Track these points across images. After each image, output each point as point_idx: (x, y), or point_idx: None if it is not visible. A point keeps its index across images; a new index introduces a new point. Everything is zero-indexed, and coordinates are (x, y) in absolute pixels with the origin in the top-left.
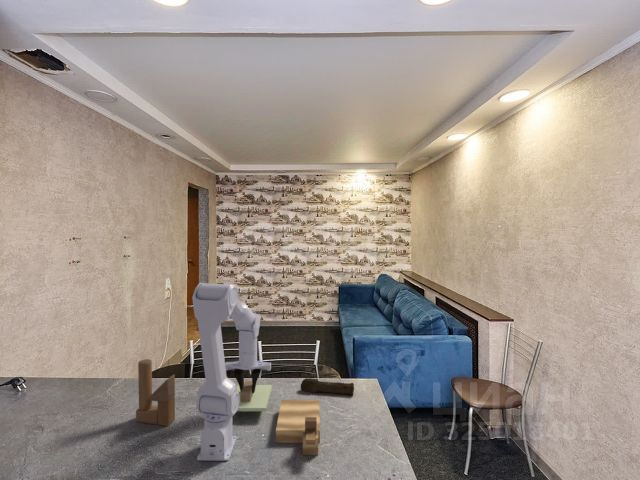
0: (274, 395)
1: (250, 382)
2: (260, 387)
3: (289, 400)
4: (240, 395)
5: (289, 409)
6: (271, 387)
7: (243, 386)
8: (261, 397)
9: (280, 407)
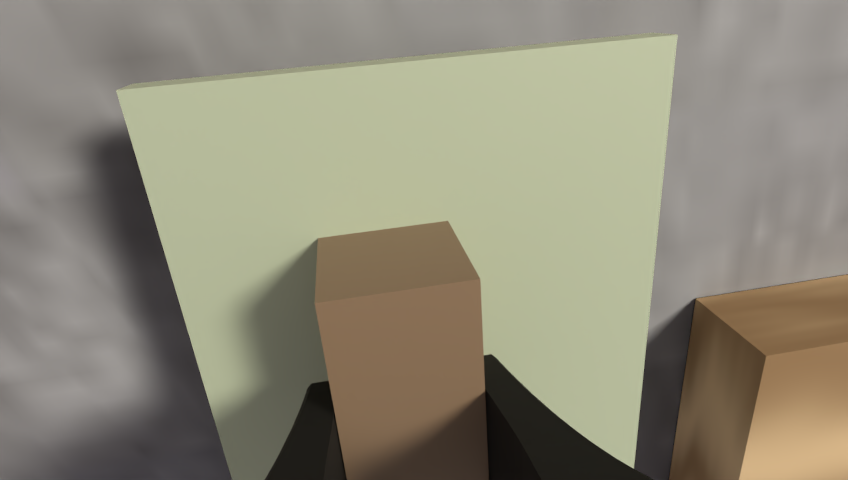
0: (629, 14)
1: (419, 339)
2: (516, 138)
3: (840, 349)
4: (305, 382)
5: (814, 473)
6: (663, 81)
7: (348, 470)
8: (568, 380)
9: (745, 463)
